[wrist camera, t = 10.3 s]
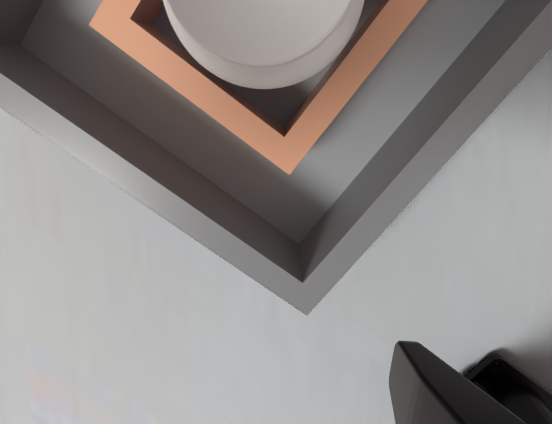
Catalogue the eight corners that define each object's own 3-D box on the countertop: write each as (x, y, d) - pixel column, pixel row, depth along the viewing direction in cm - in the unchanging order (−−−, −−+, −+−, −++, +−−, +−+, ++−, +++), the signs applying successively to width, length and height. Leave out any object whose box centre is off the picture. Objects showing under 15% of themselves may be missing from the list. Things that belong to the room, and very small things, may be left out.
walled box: (559, -35, 17) (654, -68, 12) (301, 264, 21) (307, 315, 17) (219, -380, 14) (190, -580, 9) (-2, 50, 18) (-90, 46, 14)
